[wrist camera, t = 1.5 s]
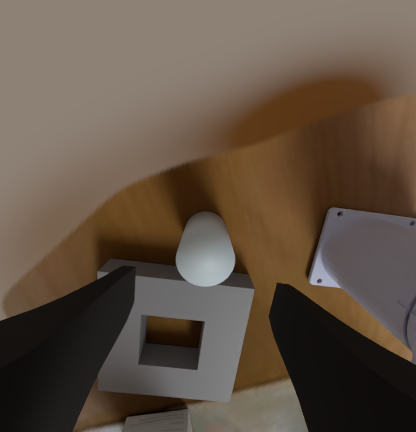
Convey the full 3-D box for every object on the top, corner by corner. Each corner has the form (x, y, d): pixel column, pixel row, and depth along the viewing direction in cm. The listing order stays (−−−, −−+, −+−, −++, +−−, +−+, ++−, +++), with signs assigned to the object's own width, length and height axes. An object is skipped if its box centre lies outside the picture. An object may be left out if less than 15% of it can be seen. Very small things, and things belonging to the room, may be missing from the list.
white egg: (229, 214, 19) (240, 236, 13) (222, 252, 20) (229, 289, 14) (187, 208, 19) (178, 228, 13) (182, 248, 20) (173, 283, 14)
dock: (248, 274, 20) (254, 289, 18) (227, 378, 24) (229, 402, 21) (110, 258, 20) (97, 271, 17) (109, 367, 23) (97, 390, 21)
